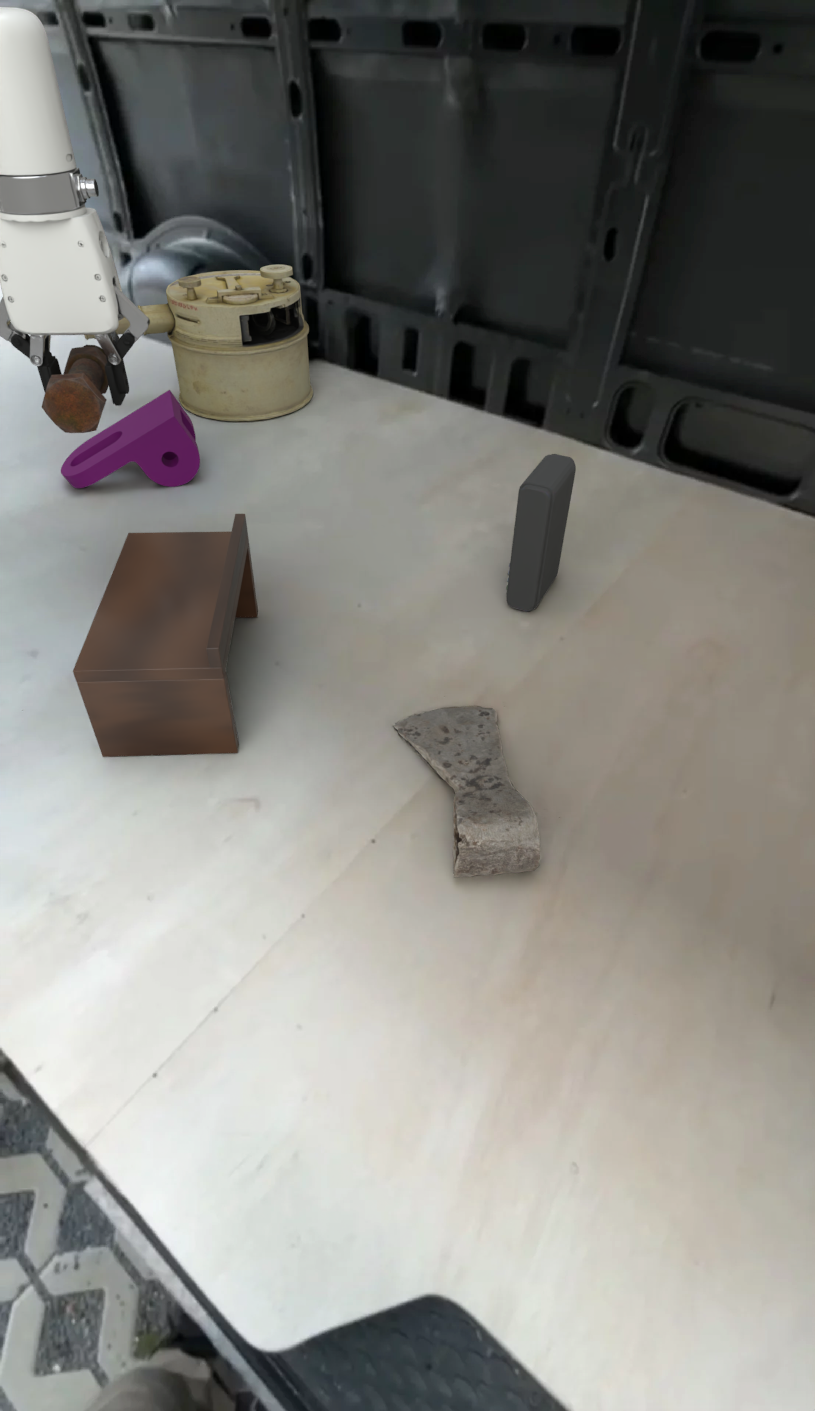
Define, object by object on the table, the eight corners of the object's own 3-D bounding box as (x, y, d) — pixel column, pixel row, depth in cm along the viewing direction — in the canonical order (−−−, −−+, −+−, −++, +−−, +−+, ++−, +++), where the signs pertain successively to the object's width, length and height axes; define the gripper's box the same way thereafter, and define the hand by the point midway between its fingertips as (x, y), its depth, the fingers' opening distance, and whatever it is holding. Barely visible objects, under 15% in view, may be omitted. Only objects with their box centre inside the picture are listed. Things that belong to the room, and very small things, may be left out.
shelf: (102, 757, 71) (65, 651, 63) (148, 613, 87) (123, 514, 79) (237, 753, 71) (218, 648, 63) (258, 611, 88) (245, 513, 80)
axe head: (389, 695, 74) (493, 685, 76) (390, 739, 77) (490, 729, 78) (430, 846, 57) (563, 829, 58) (430, 896, 60) (557, 879, 61)
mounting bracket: (102, 533, 111) (211, 468, 109) (59, 485, 105) (174, 416, 103) (102, 501, 117) (205, 439, 115) (62, 455, 111) (169, 389, 110)
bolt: (110, 392, 88) (91, 445, 77) (63, 371, 86) (36, 422, 75) (127, 343, 85) (109, 391, 74) (78, 320, 83) (53, 365, 72)
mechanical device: (99, 386, 135) (67, 255, 122) (296, 366, 144) (287, 241, 131) (106, 439, 120) (71, 295, 106) (327, 413, 129) (320, 277, 115)
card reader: (527, 567, 95) (544, 448, 85) (559, 576, 94) (580, 455, 84) (500, 606, 89) (514, 482, 79) (534, 616, 88) (553, 491, 78)
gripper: (144, 186, 73) (179, 386, 85) (-49, 186, 72) (15, 388, 84) (129, 202, 67) (169, 414, 79) (-80, 202, 66) (-7, 417, 78)
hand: (89, 399), depth 81 cm, fingers closed on bolt, 5 cm apart
